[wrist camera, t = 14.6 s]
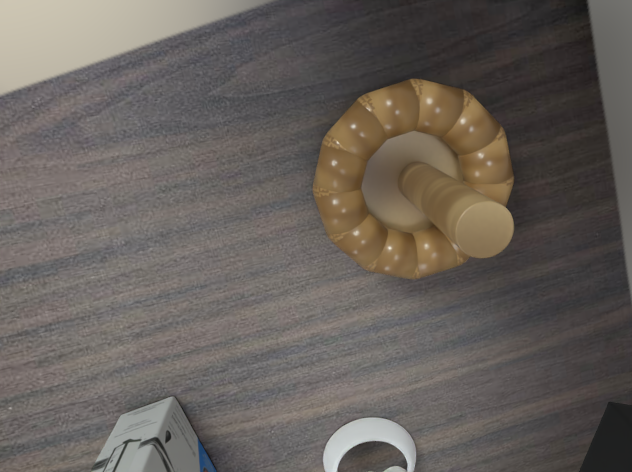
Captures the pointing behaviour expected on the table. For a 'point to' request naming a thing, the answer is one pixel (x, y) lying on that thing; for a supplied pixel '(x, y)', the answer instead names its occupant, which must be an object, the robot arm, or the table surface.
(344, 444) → the white vr controller
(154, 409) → the ink box
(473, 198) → the stand
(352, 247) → the ring
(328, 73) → the table surface
